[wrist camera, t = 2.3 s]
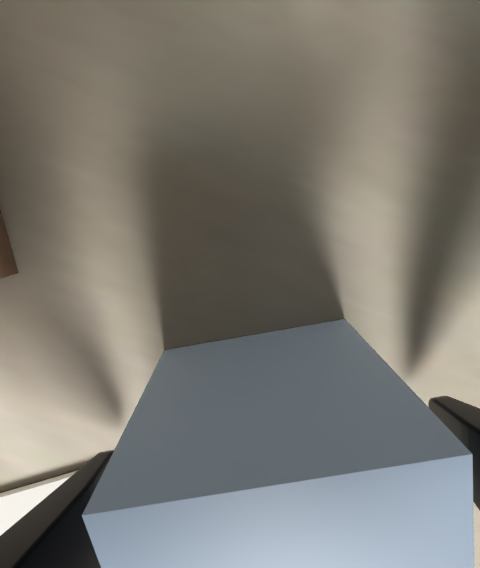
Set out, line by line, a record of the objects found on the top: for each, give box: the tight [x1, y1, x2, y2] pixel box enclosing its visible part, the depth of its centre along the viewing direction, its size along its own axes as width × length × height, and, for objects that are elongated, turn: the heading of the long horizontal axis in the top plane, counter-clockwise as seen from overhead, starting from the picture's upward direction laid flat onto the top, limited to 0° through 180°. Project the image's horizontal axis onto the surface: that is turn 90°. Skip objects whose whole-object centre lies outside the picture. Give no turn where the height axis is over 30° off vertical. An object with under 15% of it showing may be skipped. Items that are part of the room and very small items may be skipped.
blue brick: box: [82, 319, 474, 568], centre depth 7 cm, size 5×5×5 cm
